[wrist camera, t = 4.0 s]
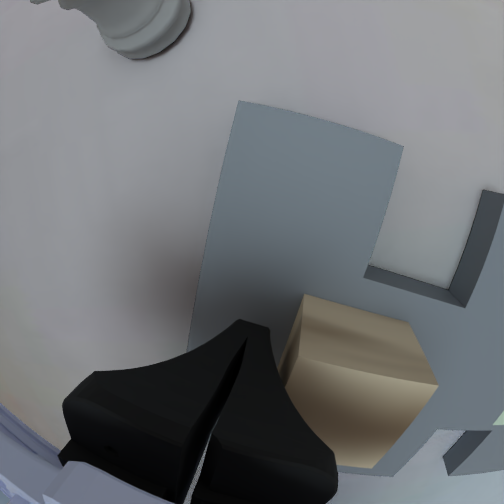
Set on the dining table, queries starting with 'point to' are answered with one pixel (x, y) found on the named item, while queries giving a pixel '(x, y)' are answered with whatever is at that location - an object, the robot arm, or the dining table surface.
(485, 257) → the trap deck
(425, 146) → the dining table surface
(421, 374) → the oak block
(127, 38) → the rook chess piece
